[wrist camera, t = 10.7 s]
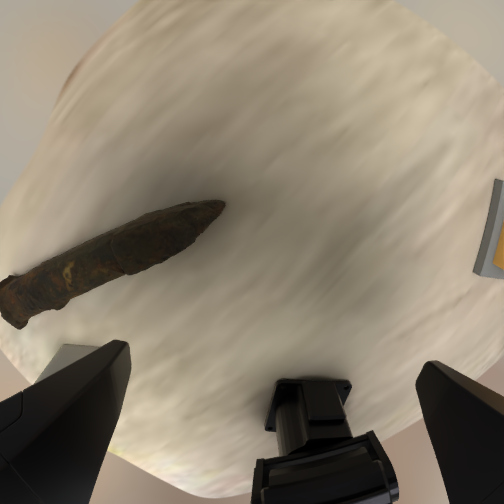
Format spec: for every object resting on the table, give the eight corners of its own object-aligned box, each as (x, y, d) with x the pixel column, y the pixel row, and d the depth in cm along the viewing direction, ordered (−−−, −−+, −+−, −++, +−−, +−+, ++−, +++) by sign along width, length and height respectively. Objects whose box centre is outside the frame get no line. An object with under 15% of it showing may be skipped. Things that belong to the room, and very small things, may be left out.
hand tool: (34, 313, 21) (6, 341, 17) (13, 272, 20) (-19, 295, 15) (239, 241, 20) (239, 268, 15) (218, 182, 18) (211, 192, 14)
